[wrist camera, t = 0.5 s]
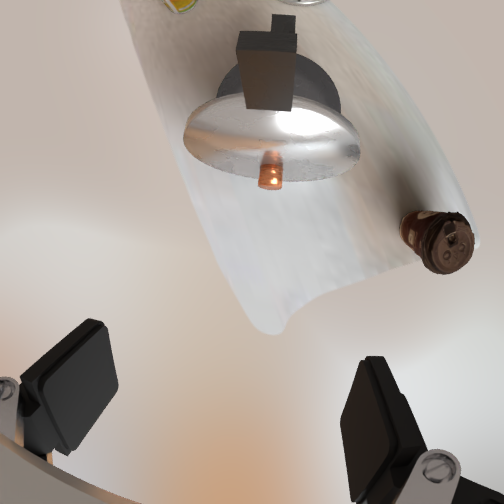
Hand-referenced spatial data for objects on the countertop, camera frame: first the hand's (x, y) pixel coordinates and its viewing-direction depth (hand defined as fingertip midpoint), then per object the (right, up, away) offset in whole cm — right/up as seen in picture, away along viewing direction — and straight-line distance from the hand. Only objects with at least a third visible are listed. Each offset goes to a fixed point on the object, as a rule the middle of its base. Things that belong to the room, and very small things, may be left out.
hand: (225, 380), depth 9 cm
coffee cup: (+28, +8, +35) cm, 45 cm away
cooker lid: (+3, +15, +14) cm, 21 cm away
